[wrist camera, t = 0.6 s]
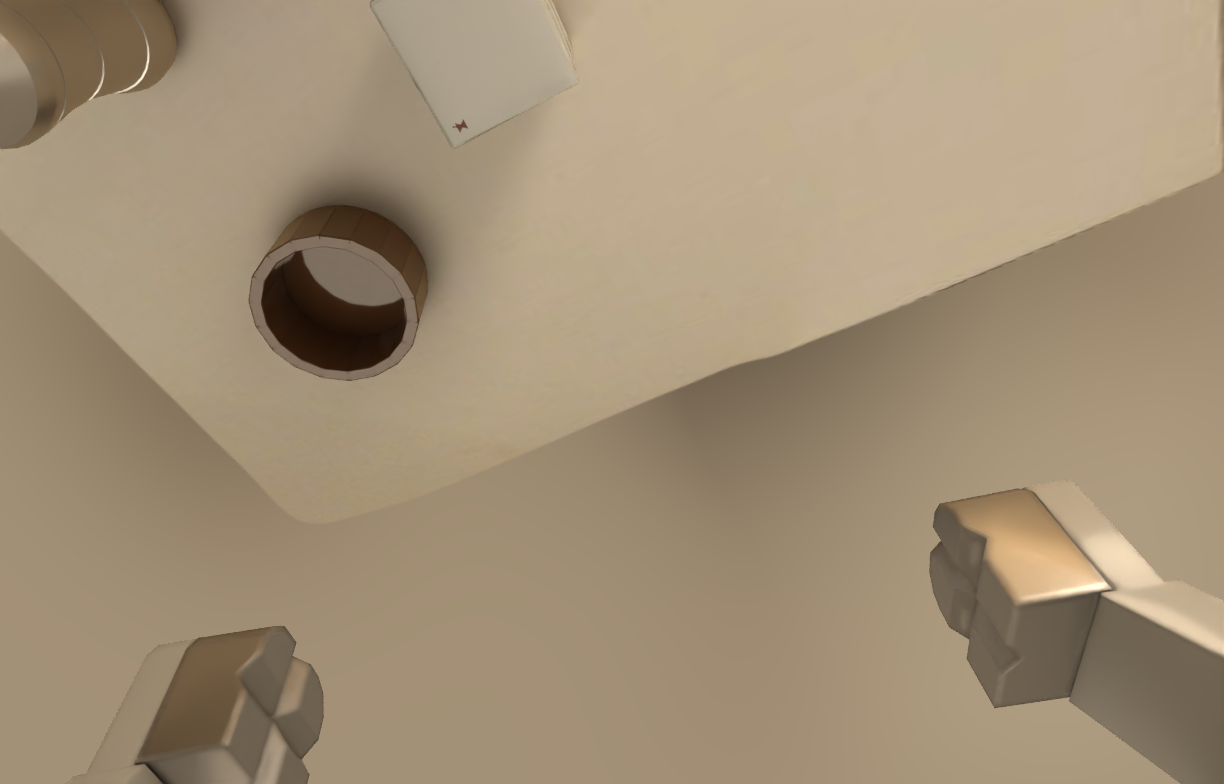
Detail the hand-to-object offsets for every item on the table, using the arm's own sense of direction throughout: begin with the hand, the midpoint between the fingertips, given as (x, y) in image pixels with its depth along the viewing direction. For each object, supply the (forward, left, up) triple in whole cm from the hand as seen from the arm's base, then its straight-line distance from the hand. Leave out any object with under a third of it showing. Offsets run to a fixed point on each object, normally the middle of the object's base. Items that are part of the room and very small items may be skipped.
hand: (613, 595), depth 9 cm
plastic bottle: (-5, -24, -45) cm, 51 cm away
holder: (+13, -17, -45) cm, 50 cm away
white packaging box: (-2, -3, -45) cm, 45 cm away
